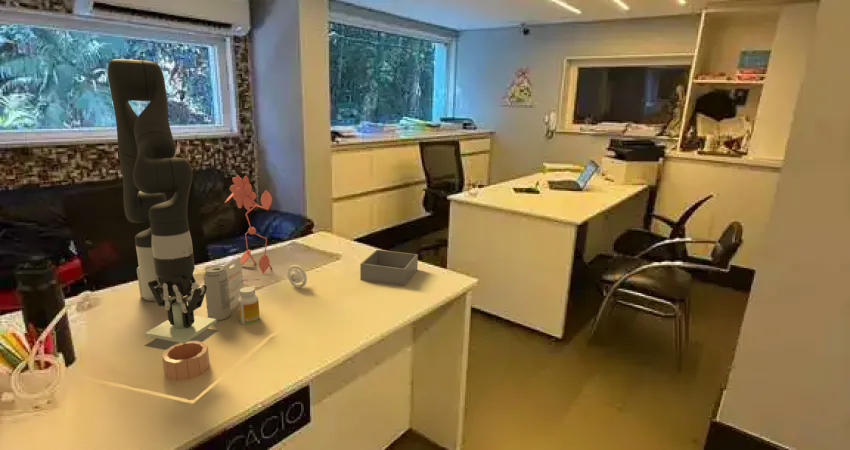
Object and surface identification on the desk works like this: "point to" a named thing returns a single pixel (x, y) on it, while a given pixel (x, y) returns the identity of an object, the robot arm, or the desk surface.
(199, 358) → the bowl
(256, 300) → the supplement bottle
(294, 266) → the white round piece
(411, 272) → the tray
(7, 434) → the desk surface
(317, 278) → the desk surface
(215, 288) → the energy drink can
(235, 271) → the ink cartridge box
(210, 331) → the mat
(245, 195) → the pink flower figurine
